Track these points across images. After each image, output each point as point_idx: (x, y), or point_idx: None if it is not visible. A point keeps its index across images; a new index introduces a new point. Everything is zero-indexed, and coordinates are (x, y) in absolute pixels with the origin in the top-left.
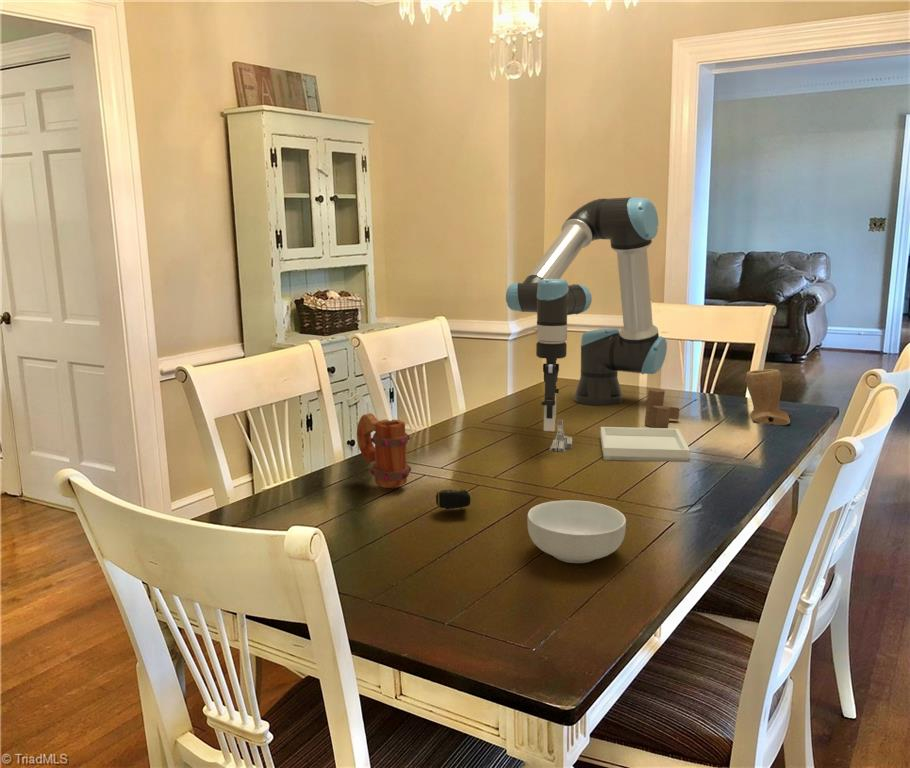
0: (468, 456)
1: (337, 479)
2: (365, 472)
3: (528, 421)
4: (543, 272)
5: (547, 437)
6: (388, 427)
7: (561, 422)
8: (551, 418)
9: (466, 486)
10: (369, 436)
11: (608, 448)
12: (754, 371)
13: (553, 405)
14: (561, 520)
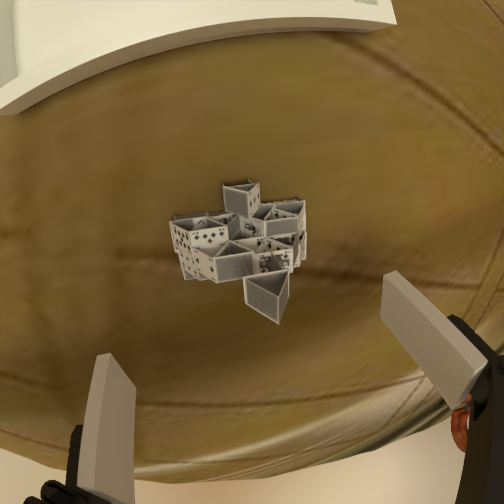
0: (369, 386)
1: (437, 411)
2: (423, 413)
3: (8, 392)
4: None
5: (112, 318)
6: None
7: (281, 291)
8: (451, 318)
9: (495, 301)
10: (466, 434)
11: (390, 7)
12: None
13: (497, 360)
14: None
